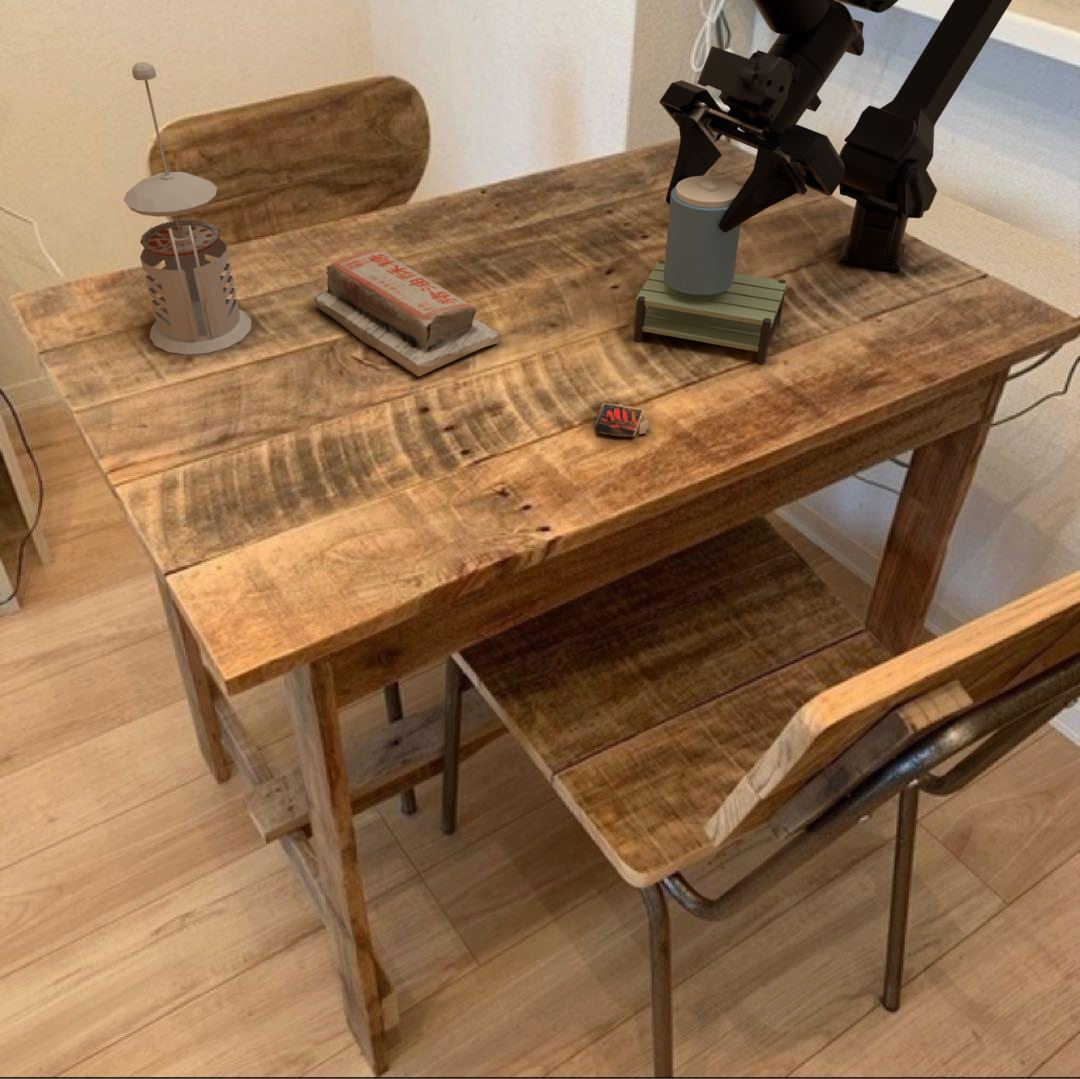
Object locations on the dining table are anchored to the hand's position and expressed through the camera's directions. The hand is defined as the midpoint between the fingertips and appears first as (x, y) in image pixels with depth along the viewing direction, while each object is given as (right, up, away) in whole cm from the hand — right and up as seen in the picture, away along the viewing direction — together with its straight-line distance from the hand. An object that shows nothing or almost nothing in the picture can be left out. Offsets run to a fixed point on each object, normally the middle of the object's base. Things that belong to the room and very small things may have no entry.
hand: (694, 216), depth 97 cm
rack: (+3, -9, +9) cm, 13 cm away
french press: (-47, -9, +8) cm, 49 cm away
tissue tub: (+1, -4, +5) cm, 7 cm away
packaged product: (-27, -8, +9) cm, 30 cm away
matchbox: (-7, -19, -4) cm, 21 cm away
